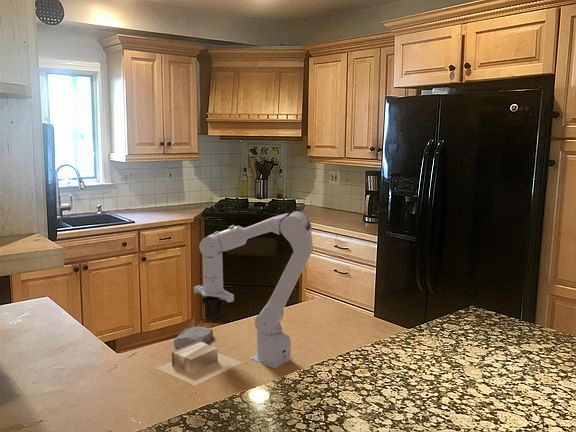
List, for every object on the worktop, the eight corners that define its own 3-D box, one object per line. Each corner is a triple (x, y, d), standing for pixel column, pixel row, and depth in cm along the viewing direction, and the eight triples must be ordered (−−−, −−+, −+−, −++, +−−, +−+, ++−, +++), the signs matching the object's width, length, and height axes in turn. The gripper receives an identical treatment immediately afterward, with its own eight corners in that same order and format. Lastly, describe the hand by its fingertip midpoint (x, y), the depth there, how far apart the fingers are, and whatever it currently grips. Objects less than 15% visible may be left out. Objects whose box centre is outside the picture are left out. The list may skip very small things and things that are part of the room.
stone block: (172, 355, 162) (202, 351, 160) (169, 340, 162) (199, 336, 160) (187, 341, 174) (216, 337, 172) (184, 327, 174) (213, 323, 171)
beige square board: (242, 363, 152) (242, 362, 152) (194, 387, 138) (194, 385, 138) (204, 348, 162) (204, 347, 162) (156, 369, 148) (156, 368, 148)
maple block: (217, 348, 152) (198, 340, 157) (190, 359, 144) (171, 351, 149) (217, 361, 153) (198, 353, 158) (191, 373, 145) (172, 365, 150)
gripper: (185, 274, 156) (186, 318, 158) (221, 283, 147) (222, 330, 150) (203, 269, 161) (204, 312, 164) (238, 277, 153) (239, 323, 155)
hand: (214, 320), depth 157 cm, fingers closed
